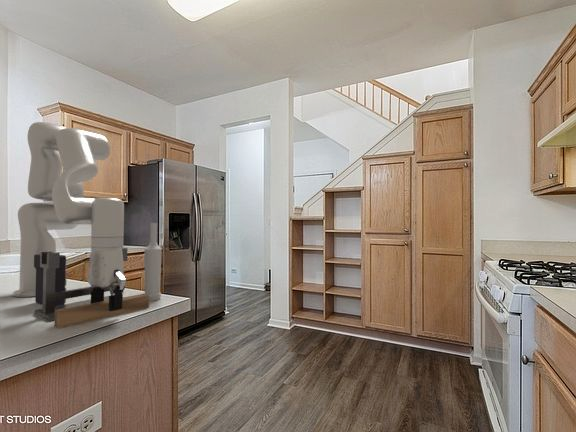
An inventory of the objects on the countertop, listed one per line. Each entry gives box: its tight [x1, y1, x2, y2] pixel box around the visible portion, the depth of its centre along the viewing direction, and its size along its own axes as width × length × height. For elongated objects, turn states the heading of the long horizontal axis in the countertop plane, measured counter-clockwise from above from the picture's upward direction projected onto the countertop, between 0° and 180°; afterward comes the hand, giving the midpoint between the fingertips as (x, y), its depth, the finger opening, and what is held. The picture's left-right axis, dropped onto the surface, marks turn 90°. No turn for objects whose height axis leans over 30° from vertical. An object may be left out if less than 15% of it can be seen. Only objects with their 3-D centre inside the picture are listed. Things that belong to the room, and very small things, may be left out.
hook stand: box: [33, 247, 128, 322], centre depth 87 cm, size 10×21×17 cm, turn 147°
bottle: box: [144, 222, 163, 302], centre depth 98 cm, size 5×5×25 cm
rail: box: [54, 293, 150, 329], centre depth 80 cm, size 3×22×4 cm, turn 143°
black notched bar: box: [34, 254, 68, 306], centre depth 91 cm, size 11×4×15 cm, turn 63°
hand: (106, 306), depth 80 cm, fingers open, 9 cm apart
